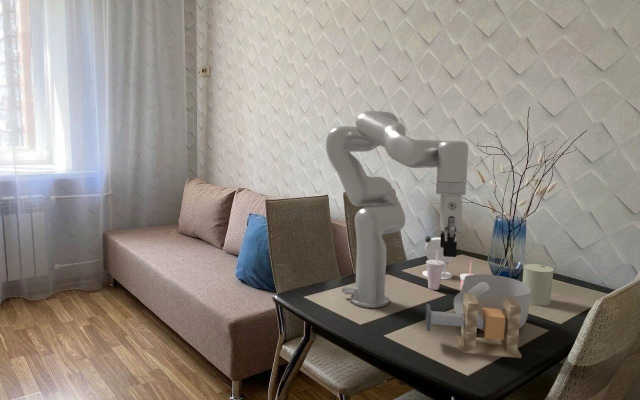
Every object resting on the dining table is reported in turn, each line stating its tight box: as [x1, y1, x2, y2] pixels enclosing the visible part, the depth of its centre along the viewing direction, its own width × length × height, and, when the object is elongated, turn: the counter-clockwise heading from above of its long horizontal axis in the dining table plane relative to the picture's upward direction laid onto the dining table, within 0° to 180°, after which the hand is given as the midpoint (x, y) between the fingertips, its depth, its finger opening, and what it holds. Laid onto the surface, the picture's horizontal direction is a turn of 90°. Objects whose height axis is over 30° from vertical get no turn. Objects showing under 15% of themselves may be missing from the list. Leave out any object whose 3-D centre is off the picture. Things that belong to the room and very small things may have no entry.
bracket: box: [456, 293, 522, 359], centre depth 114 cm, size 14×8×13 cm, turn 80°
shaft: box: [425, 303, 507, 332], centre depth 115 cm, size 22×6×5 cm, turn 80°
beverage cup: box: [459, 260, 475, 291], centre depth 145 cm, size 6×6×14 cm
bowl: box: [453, 274, 530, 330], centre depth 131 cm, size 20×19×12 cm
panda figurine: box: [422, 235, 454, 281], centre depth 174 cm, size 12×11×15 cm
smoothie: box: [425, 250, 444, 291], centre depth 159 cm, size 6×6×14 cm
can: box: [522, 263, 555, 307], centre depth 149 cm, size 9×9×12 cm
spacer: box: [480, 308, 505, 340], centre depth 114 cm, size 4×6×6 cm
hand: (447, 251), depth 119 cm, fingers open, 9 cm apart
